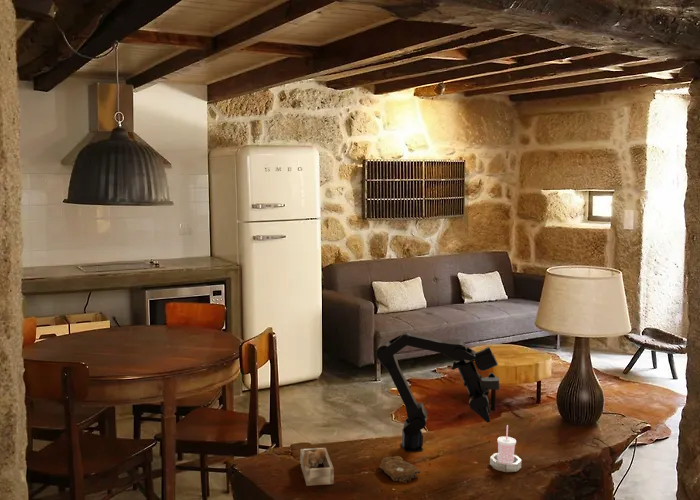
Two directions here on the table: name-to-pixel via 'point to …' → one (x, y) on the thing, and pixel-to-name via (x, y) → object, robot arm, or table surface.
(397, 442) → the table surface
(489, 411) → the robot arm
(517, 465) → the cup holder ring
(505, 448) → the beverage cup
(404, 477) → the decorative rock
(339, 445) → the table surface
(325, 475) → the open figurine box
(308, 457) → the lion figurine
